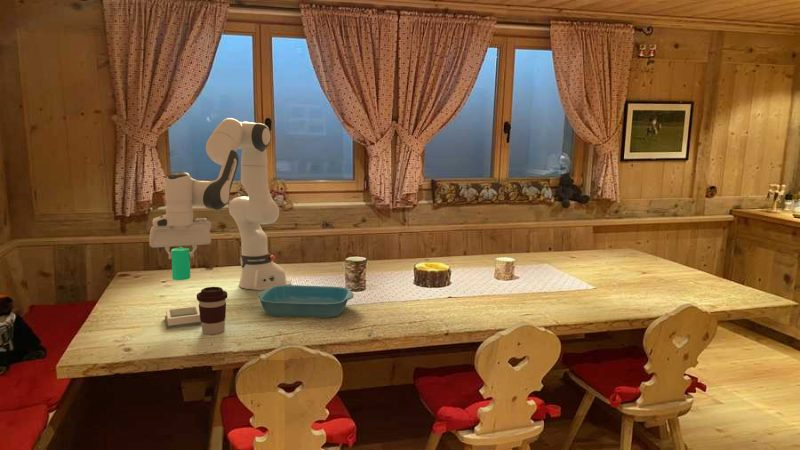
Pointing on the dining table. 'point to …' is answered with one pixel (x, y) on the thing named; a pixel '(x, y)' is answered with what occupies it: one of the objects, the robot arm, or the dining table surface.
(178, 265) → the candle
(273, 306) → the casserole dish
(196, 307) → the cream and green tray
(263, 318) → the dining table surface
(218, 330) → the coffee cup
